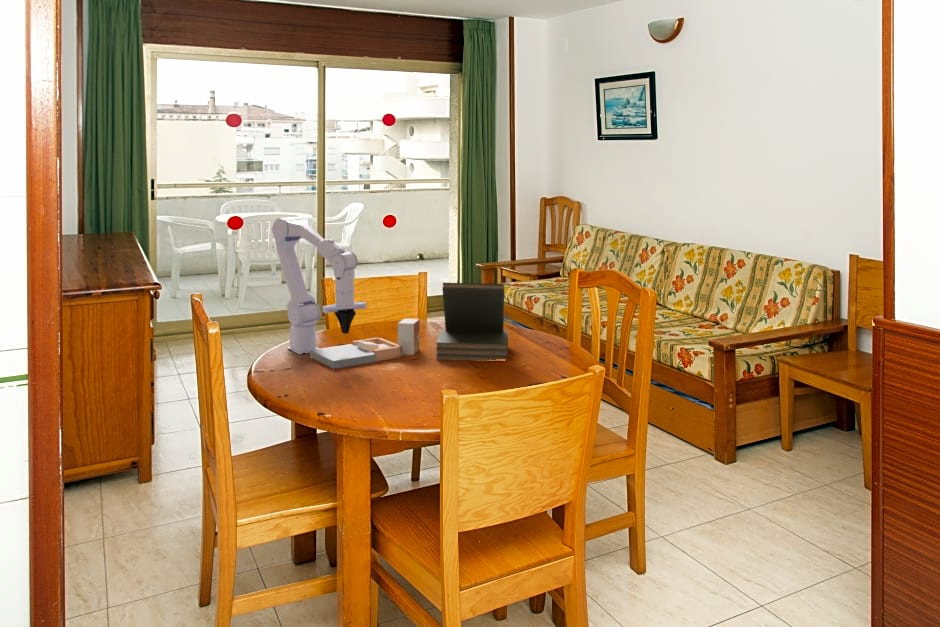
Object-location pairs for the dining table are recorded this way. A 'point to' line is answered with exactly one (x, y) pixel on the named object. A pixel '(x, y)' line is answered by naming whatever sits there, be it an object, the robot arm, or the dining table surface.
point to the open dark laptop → (473, 323)
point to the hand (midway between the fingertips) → (345, 333)
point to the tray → (386, 352)
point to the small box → (409, 335)
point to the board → (343, 356)
